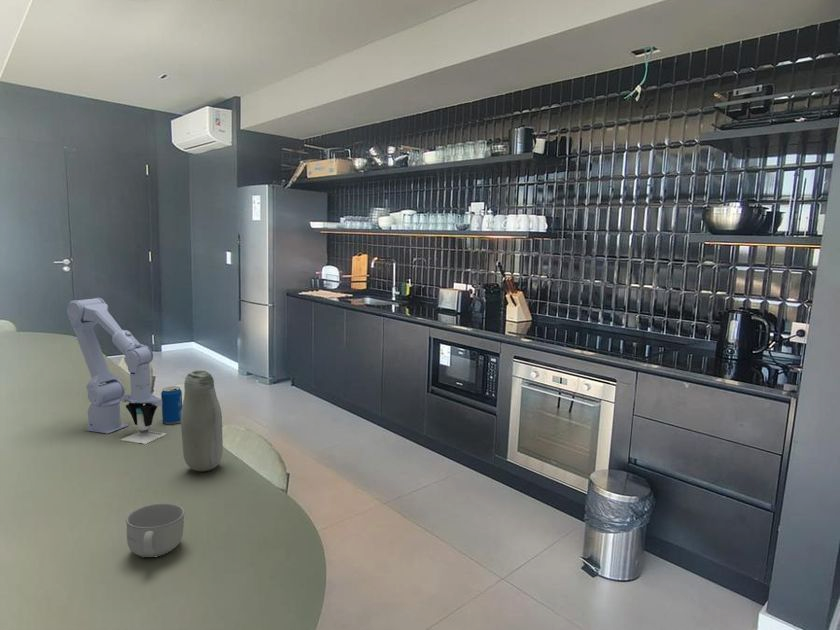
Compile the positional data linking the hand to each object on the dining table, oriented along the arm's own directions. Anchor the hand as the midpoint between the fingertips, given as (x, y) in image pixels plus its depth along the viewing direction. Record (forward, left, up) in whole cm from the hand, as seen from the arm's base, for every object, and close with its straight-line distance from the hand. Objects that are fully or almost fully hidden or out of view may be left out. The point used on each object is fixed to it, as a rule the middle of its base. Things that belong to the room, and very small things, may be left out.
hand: (143, 424), depth 176 cm
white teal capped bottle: (0, 0, -2) cm, 2 cm away
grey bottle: (+36, -15, -3) cm, 39 cm away
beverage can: (0, +13, -4) cm, 14 cm away
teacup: (+54, -52, -4) cm, 75 cm away
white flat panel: (+2, -2, -3) cm, 4 cm away
